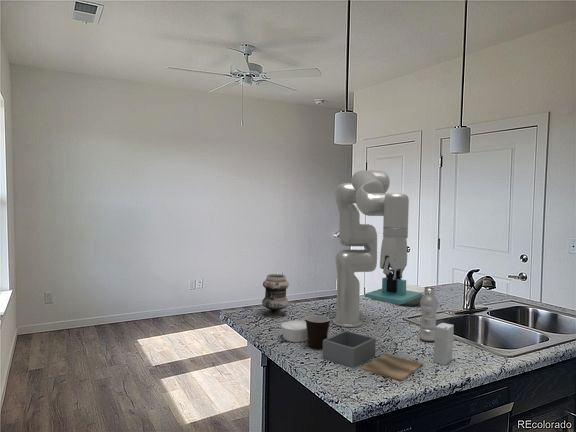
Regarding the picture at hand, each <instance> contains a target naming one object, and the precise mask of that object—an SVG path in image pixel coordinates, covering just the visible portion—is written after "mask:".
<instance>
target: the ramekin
mask: <svg viewBox="0 0 576 432" xmlns="http://www.w3.org/2000/svg"><path fill="white" fill-rule="evenodd" d="M280 328H281V331H282V333H281V334H282V337H283V339H284V340H285V341H287V342H290V343H302V342H305V341H308V337H307V327H306V321H305V320H289V321H285V322H282V323H281V324H280Z"/></svg>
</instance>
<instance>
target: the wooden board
mask: <svg viewBox="0 0 576 432" xmlns="http://www.w3.org/2000/svg"><path fill="white" fill-rule="evenodd" d="M423 366H424V363H423V362H417V361H414V360H412V359H407V358H403V357H400V356H396V355H393V354H389V353H385V354H383V355H381V356H379V357H378V358H376V359H374V360H372V361H371V362H369V363H367V364H365V365H364V366H361V370H364V371H367V372H370V373H373V374H376V375H379V376H382V377H386V378H388V379H391V380H395V381H398V382H402V381H404V380H406V379H407V378H408V377H409V376H411V375H412V374H414V373H415V372H417V371H418V370H419V369H421V368H422V367H423Z"/></svg>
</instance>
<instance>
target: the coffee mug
mask: <svg viewBox="0 0 576 432" xmlns="http://www.w3.org/2000/svg"><path fill="white" fill-rule="evenodd" d="M330 319H331V318H329V316H324V315H310V316H309V315H308V316H307V317H305V322H306V327H307V337H308V339H307V346H308V348H309V349H312V350H319V351H320V350H323V340H324V339H327V338H328V336H329V335H328V334H329V328H330V322H331V320H330Z"/></svg>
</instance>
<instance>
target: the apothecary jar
mask: <svg viewBox="0 0 576 432" xmlns="http://www.w3.org/2000/svg"><path fill="white" fill-rule="evenodd" d="M262 286H263V288H265V293H264V297H263V299H262V301H261V304H262V306H263V307H264V308H265V309H268V310H267V311H265V312H264V315H263V316H265V317H267V318H272V319H276V318H277V319H278V318H283V317H286V316H287V314H286V312H284V311H283V310H284V309H286V308H287V307H288V306H289V303H290V302H289V300H288V298H287V289H288V288H289V286H290V283H289V281H288V280H287V279H286V275H285V274H279V273H270V274H268V275H266V279H264V281H263V283H262Z"/></svg>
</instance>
